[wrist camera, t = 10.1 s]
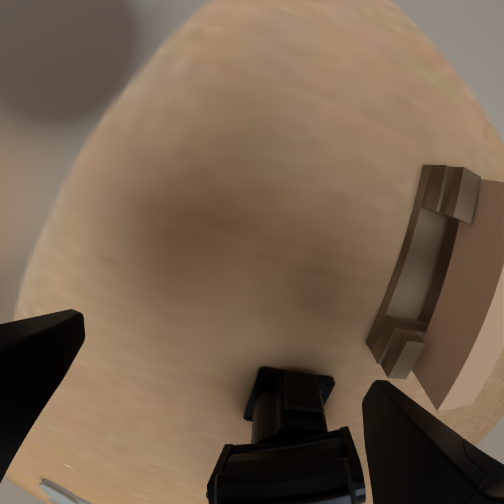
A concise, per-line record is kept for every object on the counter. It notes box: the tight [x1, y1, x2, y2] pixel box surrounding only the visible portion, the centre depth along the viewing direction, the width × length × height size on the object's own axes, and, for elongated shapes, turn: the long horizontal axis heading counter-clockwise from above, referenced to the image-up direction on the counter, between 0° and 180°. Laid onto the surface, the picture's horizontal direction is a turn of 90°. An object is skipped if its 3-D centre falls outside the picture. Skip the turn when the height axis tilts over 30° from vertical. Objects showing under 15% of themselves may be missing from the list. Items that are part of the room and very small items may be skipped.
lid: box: [39, 479, 92, 504], centre depth 38 cm, size 17×20×3 cm
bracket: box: [366, 165, 481, 379], centre depth 16 cm, size 14×9×5 cm, turn 167°
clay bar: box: [412, 179, 504, 411], centre depth 13 cm, size 14×4×5 cm, turn 172°
